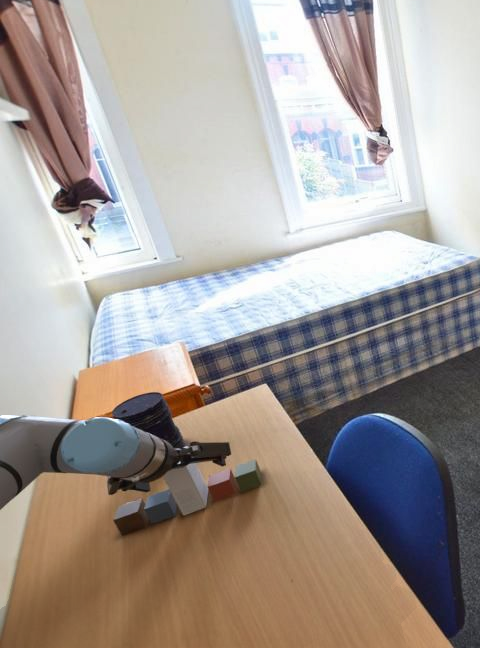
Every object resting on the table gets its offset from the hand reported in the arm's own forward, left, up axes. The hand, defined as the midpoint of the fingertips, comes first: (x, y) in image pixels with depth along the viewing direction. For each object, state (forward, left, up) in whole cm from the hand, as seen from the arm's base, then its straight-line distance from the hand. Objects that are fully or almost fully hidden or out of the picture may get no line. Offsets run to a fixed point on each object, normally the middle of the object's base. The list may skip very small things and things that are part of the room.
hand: (186, 472), depth 97 cm
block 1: (-10, -2, -6) cm, 12 cm away
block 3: (+6, -2, -6) cm, 9 cm away
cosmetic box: (0, -2, -7) cm, 7 cm away
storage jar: (-9, +21, -6) cm, 24 cm away
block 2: (-5, -2, -6) cm, 9 cm away
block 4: (+11, -2, -6) cm, 12 cm away
